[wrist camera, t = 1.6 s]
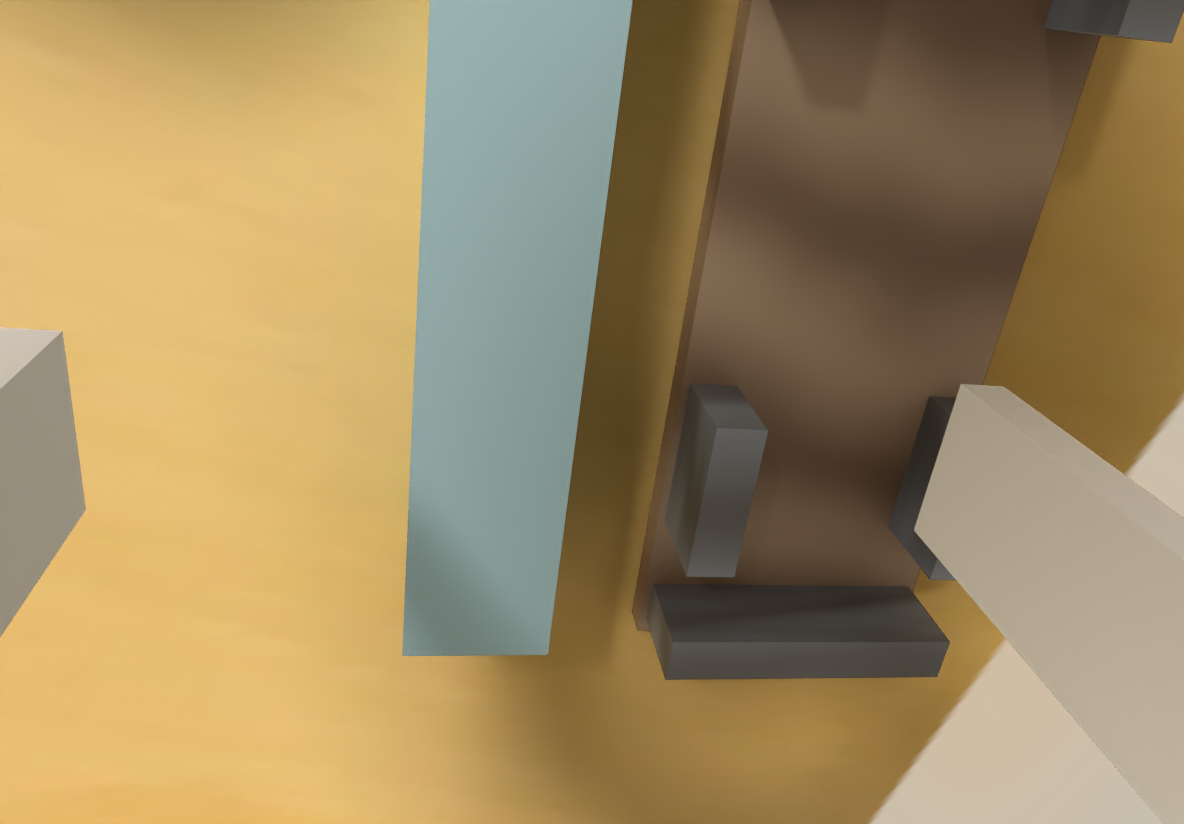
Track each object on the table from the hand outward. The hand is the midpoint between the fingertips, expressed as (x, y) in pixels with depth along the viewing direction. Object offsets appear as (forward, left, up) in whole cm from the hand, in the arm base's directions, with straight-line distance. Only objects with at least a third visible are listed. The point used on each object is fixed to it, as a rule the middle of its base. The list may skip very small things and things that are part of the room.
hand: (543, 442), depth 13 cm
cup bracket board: (-1, +11, -13) cm, 17 cm away
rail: (0, 0, -14) cm, 14 cm away
